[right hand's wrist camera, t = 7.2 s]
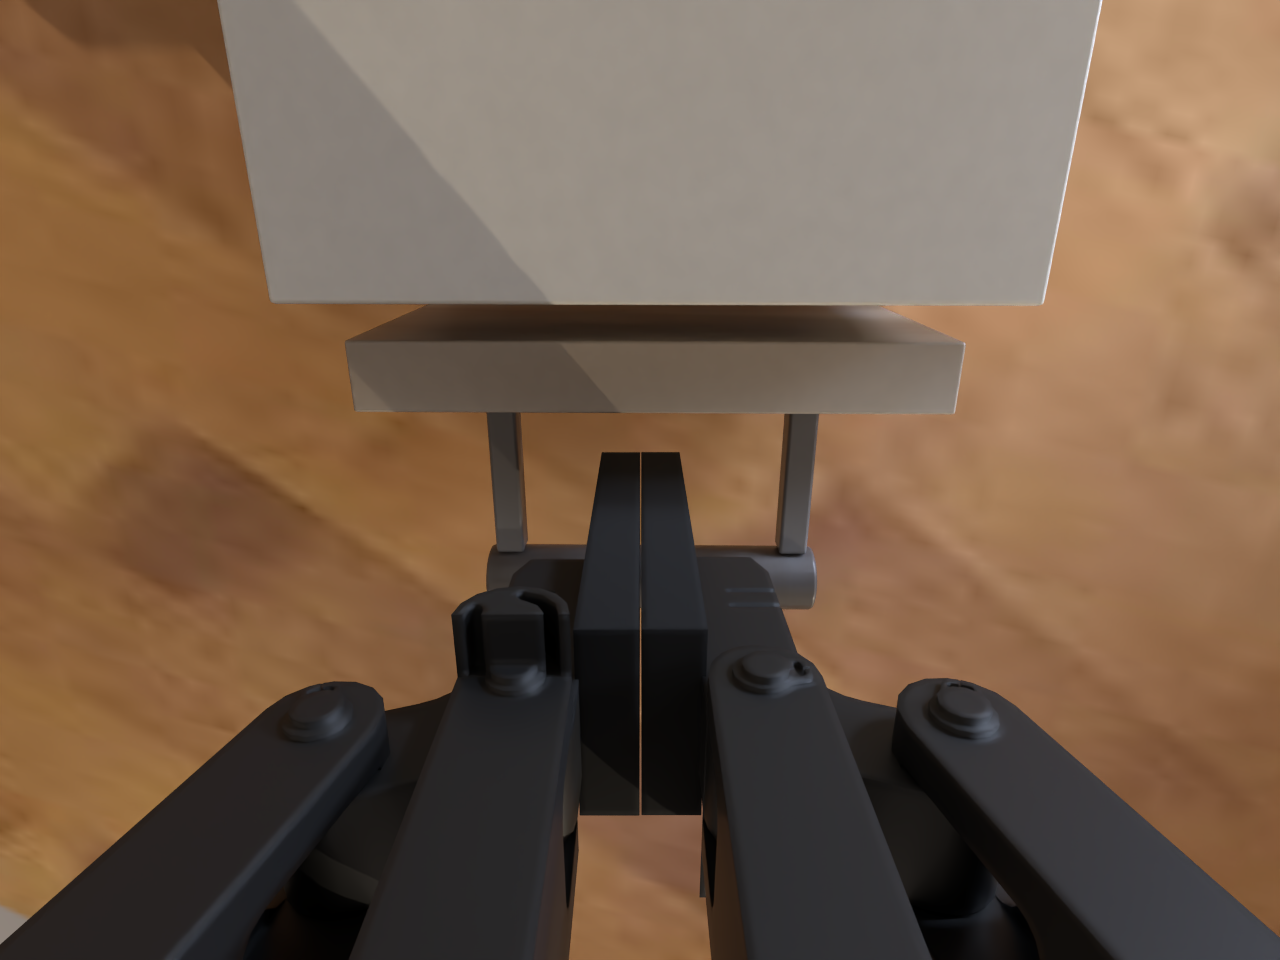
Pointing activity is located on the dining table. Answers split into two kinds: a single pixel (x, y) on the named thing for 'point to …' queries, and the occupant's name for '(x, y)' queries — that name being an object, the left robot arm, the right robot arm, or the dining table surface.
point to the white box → (658, 148)
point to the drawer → (656, 389)
